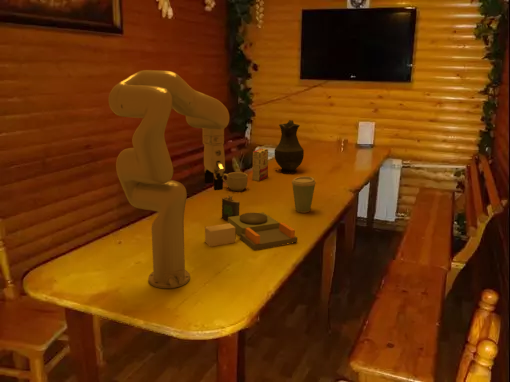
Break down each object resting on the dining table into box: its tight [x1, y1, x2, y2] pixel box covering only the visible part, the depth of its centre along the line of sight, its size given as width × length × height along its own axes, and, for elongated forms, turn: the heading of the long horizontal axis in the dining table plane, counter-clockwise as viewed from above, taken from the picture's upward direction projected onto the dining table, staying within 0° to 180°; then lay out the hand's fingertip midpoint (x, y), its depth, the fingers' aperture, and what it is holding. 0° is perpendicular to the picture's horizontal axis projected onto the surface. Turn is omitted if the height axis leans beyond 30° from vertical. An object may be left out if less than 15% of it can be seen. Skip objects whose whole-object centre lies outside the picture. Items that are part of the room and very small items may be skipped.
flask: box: [221, 195, 241, 222], centre depth 198 cm, size 9×3×11 cm, turn 50°
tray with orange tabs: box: [227, 211, 298, 251], centre depth 183 cm, size 26×18×5 cm
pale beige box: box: [204, 222, 237, 247], centre depth 175 cm, size 5×10×6 cm, turn 118°
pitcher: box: [274, 119, 305, 174], centre depth 282 cm, size 17×21×30 cm
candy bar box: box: [252, 147, 269, 182], centre depth 265 cm, size 11×5×16 cm, turn 155°
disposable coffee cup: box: [291, 175, 317, 214], centre depth 212 cm, size 11×11×15 cm
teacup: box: [223, 171, 249, 192], centre depth 245 cm, size 14×11×8 cm
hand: (213, 186), depth 171 cm, fingers open, 9 cm apart
